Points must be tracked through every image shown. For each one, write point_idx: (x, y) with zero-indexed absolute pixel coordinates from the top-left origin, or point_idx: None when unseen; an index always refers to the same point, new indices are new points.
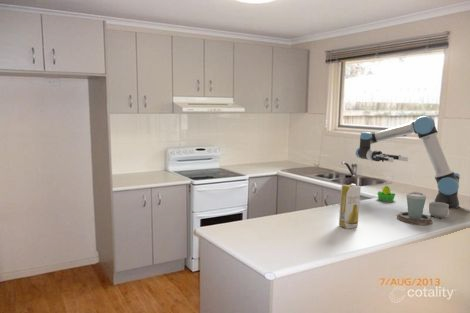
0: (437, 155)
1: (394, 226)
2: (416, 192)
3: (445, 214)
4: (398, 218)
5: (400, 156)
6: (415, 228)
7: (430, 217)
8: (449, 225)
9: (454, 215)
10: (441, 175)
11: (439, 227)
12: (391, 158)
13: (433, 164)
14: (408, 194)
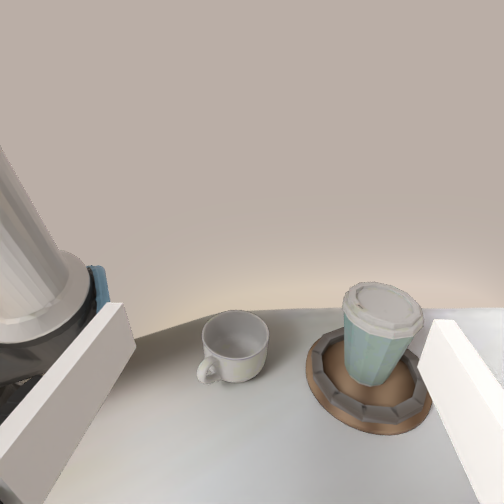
0: (19, 180)
1: (493, 363)
2: (364, 307)
3: (244, 332)
4: (431, 400)
5: (34, 418)
6: (425, 331)
7: (324, 335)
8: (298, 312)
9: (172, 349)
10: (86, 283)
11: (342, 314)
12: (463, 345)
13: (24, 262)
14: (420, 313)
